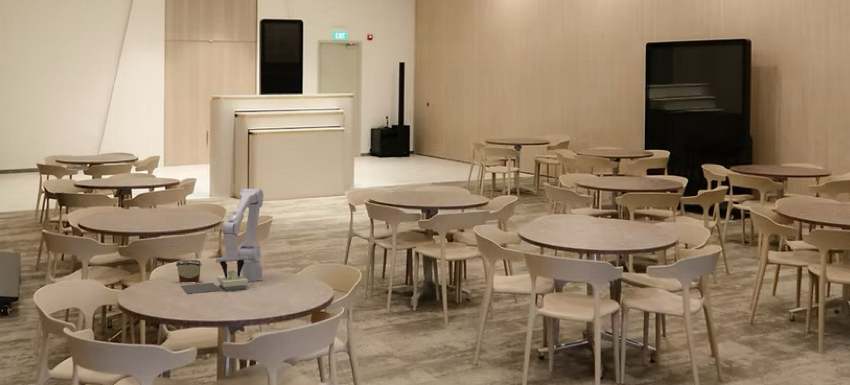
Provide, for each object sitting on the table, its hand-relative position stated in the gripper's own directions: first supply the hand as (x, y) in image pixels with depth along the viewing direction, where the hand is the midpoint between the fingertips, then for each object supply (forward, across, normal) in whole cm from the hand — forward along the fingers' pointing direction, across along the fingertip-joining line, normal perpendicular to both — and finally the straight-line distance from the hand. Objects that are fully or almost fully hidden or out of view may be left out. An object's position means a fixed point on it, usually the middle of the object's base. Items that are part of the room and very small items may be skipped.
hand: (232, 276), depth 432 cm
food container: (+5, -15, +22) cm, 27 cm away
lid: (+3, 0, 0) cm, 3 cm away
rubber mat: (+5, -14, +4) cm, 15 cm away
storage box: (+5, 0, 0) cm, 5 cm away
